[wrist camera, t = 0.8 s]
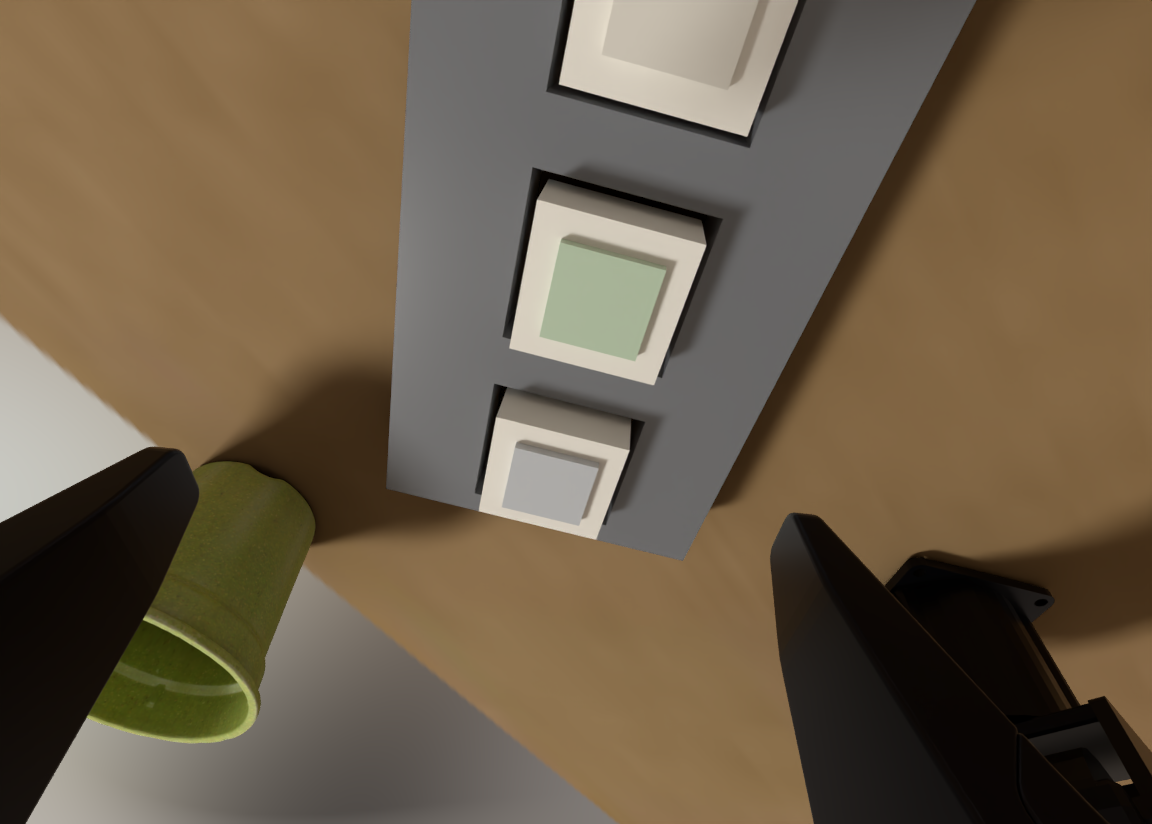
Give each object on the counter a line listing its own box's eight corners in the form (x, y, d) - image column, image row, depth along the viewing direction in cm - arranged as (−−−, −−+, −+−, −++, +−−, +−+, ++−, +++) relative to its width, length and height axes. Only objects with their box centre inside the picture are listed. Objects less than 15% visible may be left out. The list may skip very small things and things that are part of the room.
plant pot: (284, 411, 24) (135, 580, 17) (386, 562, 29) (302, 741, 22) (111, 446, 27) (-82, 608, 20) (233, 581, 32) (114, 748, 25)
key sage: (701, 220, 17) (707, 249, 15) (653, 352, 19) (654, 391, 17) (548, 178, 16) (535, 202, 14) (521, 317, 19) (507, 353, 17)
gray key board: (1281, -717, 9) (1453, -911, 7) (680, 517, 25) (682, 560, 23) (518, -993, 8) (478, -1287, 7) (407, 449, 25) (386, 488, 23)
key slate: (631, 414, 21) (629, 456, 19) (600, 501, 23) (595, 545, 21) (508, 383, 20) (494, 422, 19) (491, 474, 23) (476, 517, 21)
